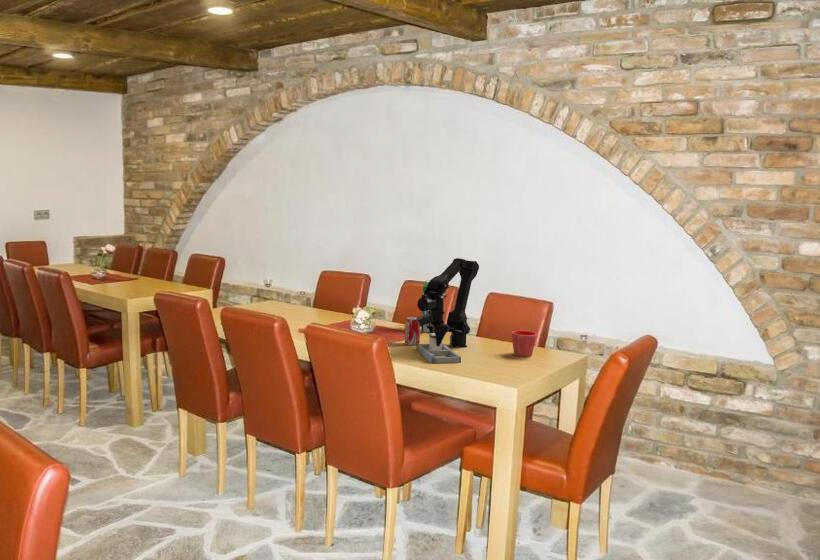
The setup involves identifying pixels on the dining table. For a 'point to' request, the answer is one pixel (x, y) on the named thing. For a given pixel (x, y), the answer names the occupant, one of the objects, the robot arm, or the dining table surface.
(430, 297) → the robot arm
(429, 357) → the grey divided tray
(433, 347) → the cylinder
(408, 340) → the soda can
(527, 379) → the dining table surface
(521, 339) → the flower pot
